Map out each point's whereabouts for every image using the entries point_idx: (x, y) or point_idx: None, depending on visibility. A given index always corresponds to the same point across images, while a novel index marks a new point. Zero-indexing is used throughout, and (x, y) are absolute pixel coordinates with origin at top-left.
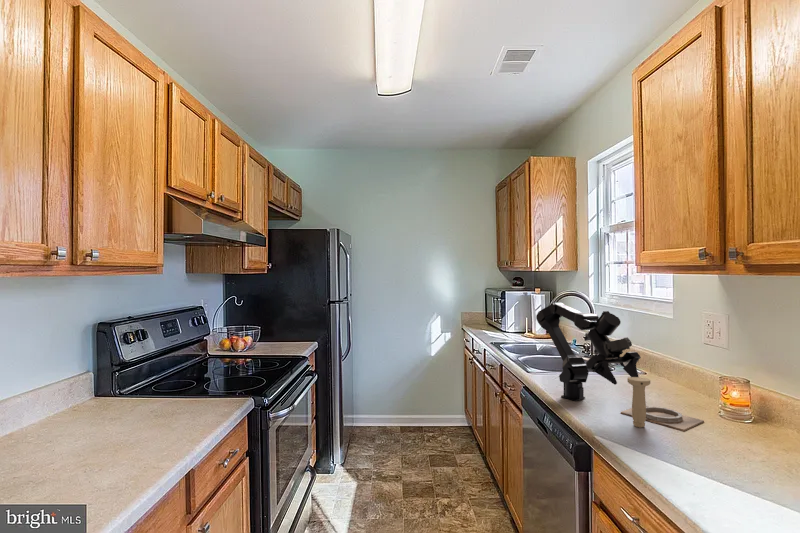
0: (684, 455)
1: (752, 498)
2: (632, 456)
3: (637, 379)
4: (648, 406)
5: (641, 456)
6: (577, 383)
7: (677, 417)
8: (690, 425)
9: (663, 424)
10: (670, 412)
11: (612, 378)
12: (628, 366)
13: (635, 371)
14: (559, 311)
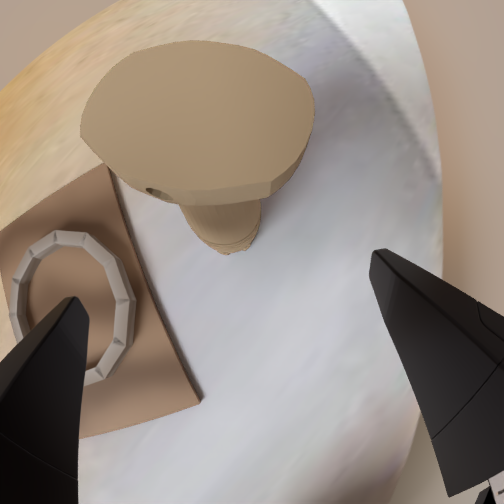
0: (265, 33)
1: None
2: (398, 58)
3: (215, 90)
4: None
5: (377, 52)
6: None
7: (50, 237)
8: (55, 196)
9: (124, 224)
10: (24, 321)
11: (427, 278)
12: (26, 486)
13: (18, 362)
14: None
